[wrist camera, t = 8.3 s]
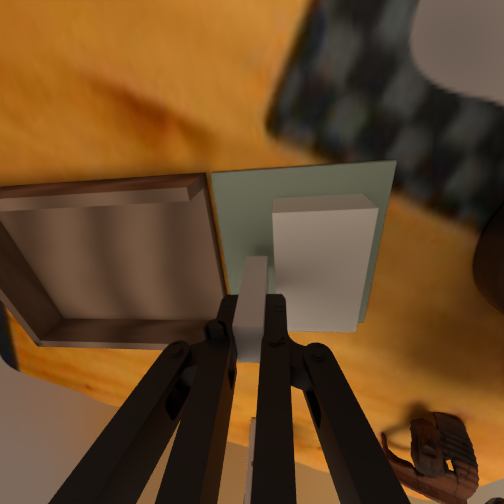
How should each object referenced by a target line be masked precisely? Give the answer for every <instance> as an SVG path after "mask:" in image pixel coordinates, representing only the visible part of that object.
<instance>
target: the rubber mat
mask: <svg viewBox="0 0 504 504" xmlns="http://www.w3.org/2000/svg"><path fill="white" fill-rule="evenodd" d="M396 162H397V161H396V160H380V161H366V162H351V163H337V164H322V165H308V166H294V167H279V168H265V169H250V170H236V171H221V172H212V173H211V180H212V186H213V192H214V198H215V204H216V210H217V216H218V222H219V228H220V234H221V240H222V246H223V252H224V258H225V265H226V271H227V277H228V283H229V289H230V295H237V294H239V291H240V286H241V281H242V277H243V272H244V267H245V262H246V257H247V256H267V257H268V276H269V294H276V287H275V265H274V243H273V221H272V208H273V198H284V197H303V196H321V195H339V194H358V193H363V194H364V195H365V196H366V197H367V198H368V199H369V200H370V201H371V202H372V203H373V204H375V205H376V206H377V207H378V208H379V209H378V214H377V220H376V225H375V230H374V236H373V241H372V247H371V252H370V257H369V263H368V268H367V274H366V279H365V284H364V290H363V295H362V301H361V306H360V311H359V317H358V322H357V323H364V319H365V314H366V309H367V304H368V299H369V294H370V290H371V285H372V280H373V275H374V270H375V265H376V260H377V255H378V250H379V246H380V241H381V236H382V231H383V226H384V221H385V216H386V211H387V206H388V202H389V197H390V192H391V187H392V182H393V177H394V172H395V167H396Z"/></svg>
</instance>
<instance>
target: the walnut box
mask: <svg viewBox="0 0 504 504" xmlns="http://www.w3.org/2000/svg"><path fill="white" fill-rule="evenodd" d="M225 295H227V293H226V288H225V282H224V276H223V270H222V265H221V259H220V253H219V247H218V242H217V236H216V230H215V225H214V219H213V213H212V207H211V202H210V196H209V190H208V184H207V179H206V173H193V174H178V175H164V176H149V177H135V178H120V179H106V180H92V181H77V182H63V183H48V184H34V185H19V186H5V187H0V300H1V301H2V302H3V303H4V305H5V306H6V307H7V309H8V310H9V311H10V312H11V314H12V315H13V316H14V317H15V319H16V320H17V321H18V323H19V324H20V325H21V326H22V328H23V329H24V330H25V331H26V333H27V334H28V335H29V337H30V338H31V339H32V340H33V342H34V343H35V344H36V345H37V346H41V347H76V348H111V349H146V350H164V349H165V348H166V347H167V346H168V345H169V344H170V343H172V342H174V341H178V340H181V341H185V342H187V343H188V344H189V345H192V344H196V343H199V342H202V341H204V340H205V335H204V331H203V327H204V325H205V324H206V323H207V322H208V321H210V320H213V319H216V317H217V313H218V310H219V308H220V303H221V300H222V299H223V298H224V297H225Z"/></svg>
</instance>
